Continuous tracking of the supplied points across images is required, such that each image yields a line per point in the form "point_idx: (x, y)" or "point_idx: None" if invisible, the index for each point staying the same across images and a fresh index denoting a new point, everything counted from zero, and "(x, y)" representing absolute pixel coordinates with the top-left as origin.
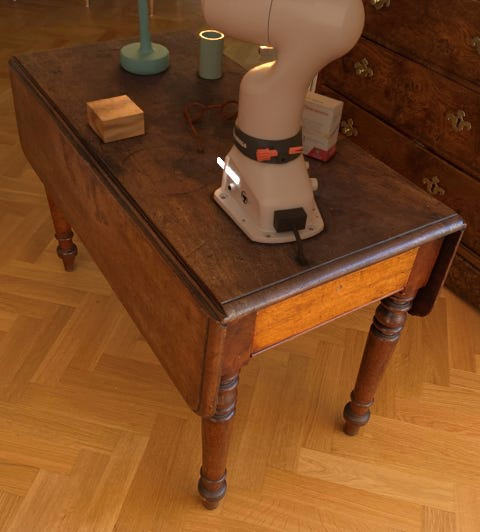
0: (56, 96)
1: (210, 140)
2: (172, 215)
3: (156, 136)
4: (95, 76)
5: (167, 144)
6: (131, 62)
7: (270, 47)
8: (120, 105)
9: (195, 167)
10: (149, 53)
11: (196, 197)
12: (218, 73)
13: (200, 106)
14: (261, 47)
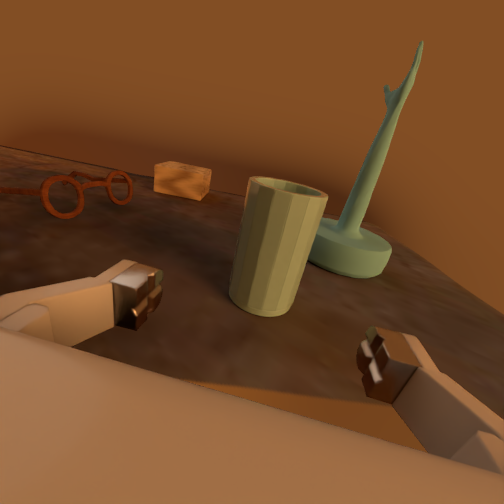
0: None
1: (66, 194)
2: (34, 157)
3: (139, 191)
4: None
5: (115, 187)
6: None
7: (74, 287)
8: (185, 168)
9: None
10: (330, 228)
11: (22, 162)
12: (231, 281)
13: (109, 177)
14: (142, 266)
